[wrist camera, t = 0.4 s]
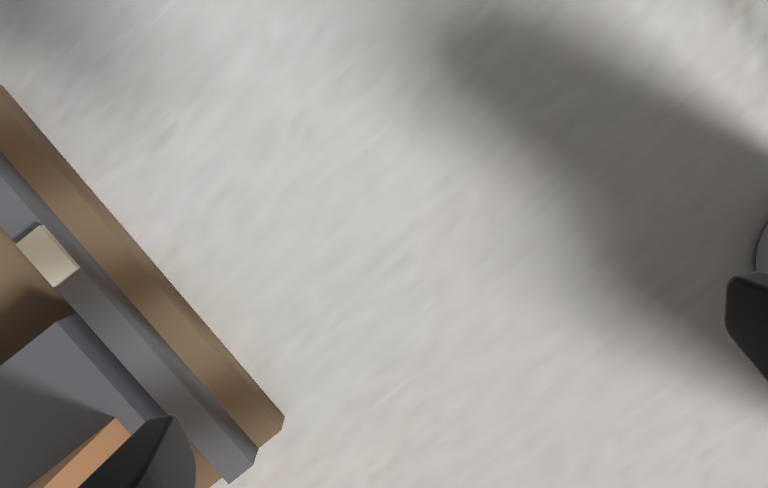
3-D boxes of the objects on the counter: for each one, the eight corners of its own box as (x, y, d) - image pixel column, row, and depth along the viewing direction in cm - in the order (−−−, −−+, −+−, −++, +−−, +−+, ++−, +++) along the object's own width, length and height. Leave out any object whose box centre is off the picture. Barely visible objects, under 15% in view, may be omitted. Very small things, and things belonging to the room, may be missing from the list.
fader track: (284, 416, 25) (276, 448, 22) (69, 588, 25) (28, 646, 22) (2, 86, 23) (-53, 67, 20) (-232, 270, 23) (-327, 281, 20)
